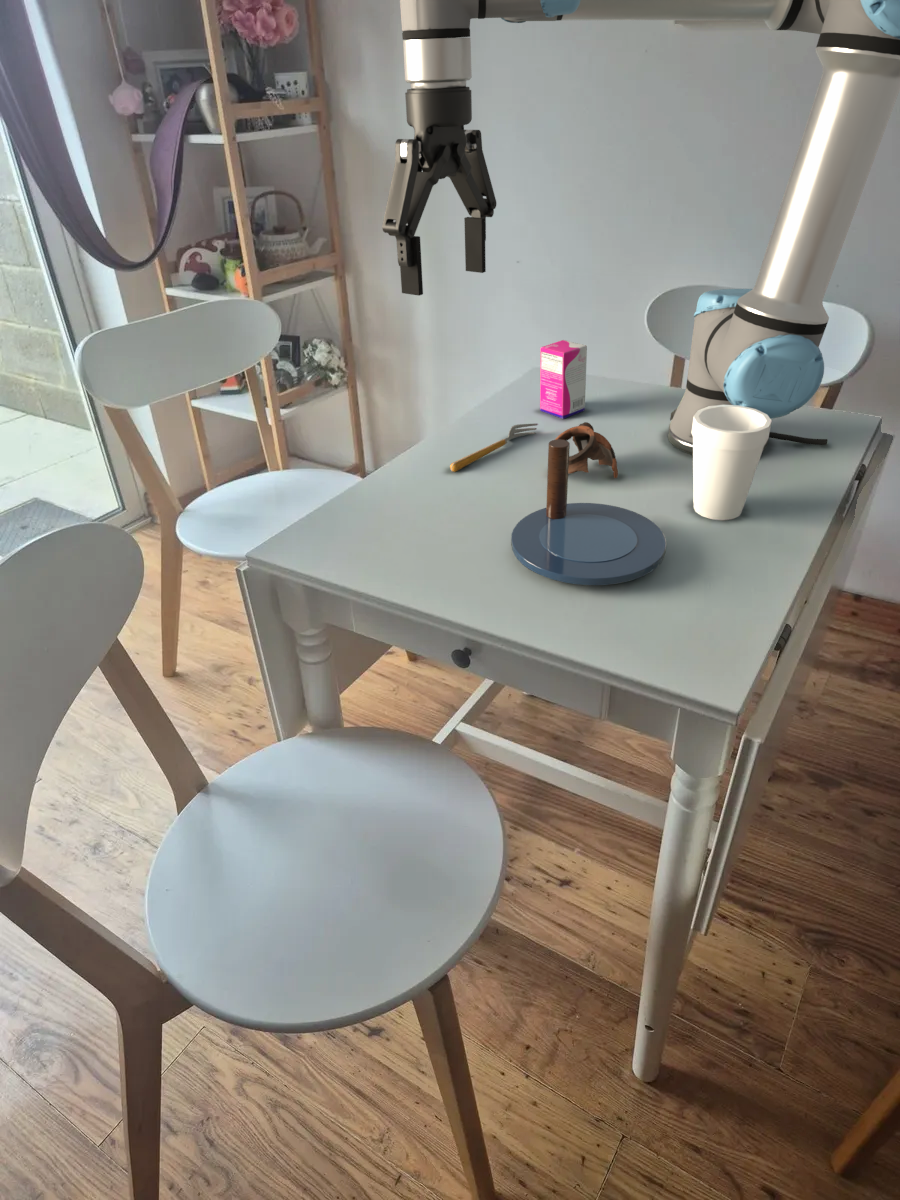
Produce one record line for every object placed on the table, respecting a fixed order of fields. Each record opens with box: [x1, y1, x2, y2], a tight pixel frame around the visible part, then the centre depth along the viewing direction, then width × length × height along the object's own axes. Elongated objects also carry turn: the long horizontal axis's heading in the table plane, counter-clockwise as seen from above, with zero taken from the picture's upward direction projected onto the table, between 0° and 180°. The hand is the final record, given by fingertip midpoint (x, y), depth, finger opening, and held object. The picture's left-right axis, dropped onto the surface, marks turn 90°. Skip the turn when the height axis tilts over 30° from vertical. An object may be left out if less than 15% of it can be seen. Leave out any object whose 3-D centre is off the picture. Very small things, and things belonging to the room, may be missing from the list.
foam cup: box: [691, 405, 773, 521], centre depth 107 cm, size 10×9×13 cm
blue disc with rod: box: [510, 439, 667, 586], centre depth 99 cm, size 19×19×11 cm
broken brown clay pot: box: [554, 421, 619, 479], centre depth 121 cm, size 12×10×8 cm
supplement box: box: [539, 339, 588, 420], centre depth 140 cm, size 6×6×12 cm
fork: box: [449, 423, 539, 473], centre depth 129 cm, size 2×2×20 cm
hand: (445, 282), depth 104 cm, fingers open, 13 cm apart
